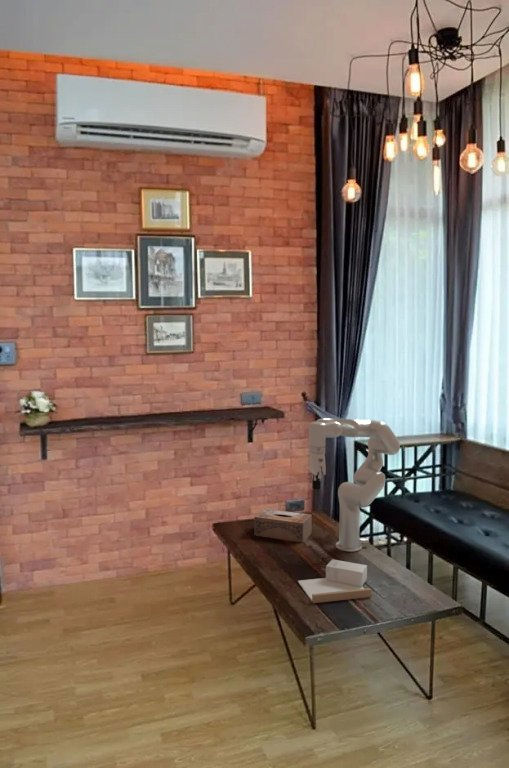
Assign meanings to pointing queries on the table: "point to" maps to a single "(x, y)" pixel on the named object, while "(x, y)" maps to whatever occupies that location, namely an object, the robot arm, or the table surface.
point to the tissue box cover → (283, 525)
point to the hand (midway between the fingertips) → (316, 488)
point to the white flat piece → (332, 590)
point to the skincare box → (346, 572)
